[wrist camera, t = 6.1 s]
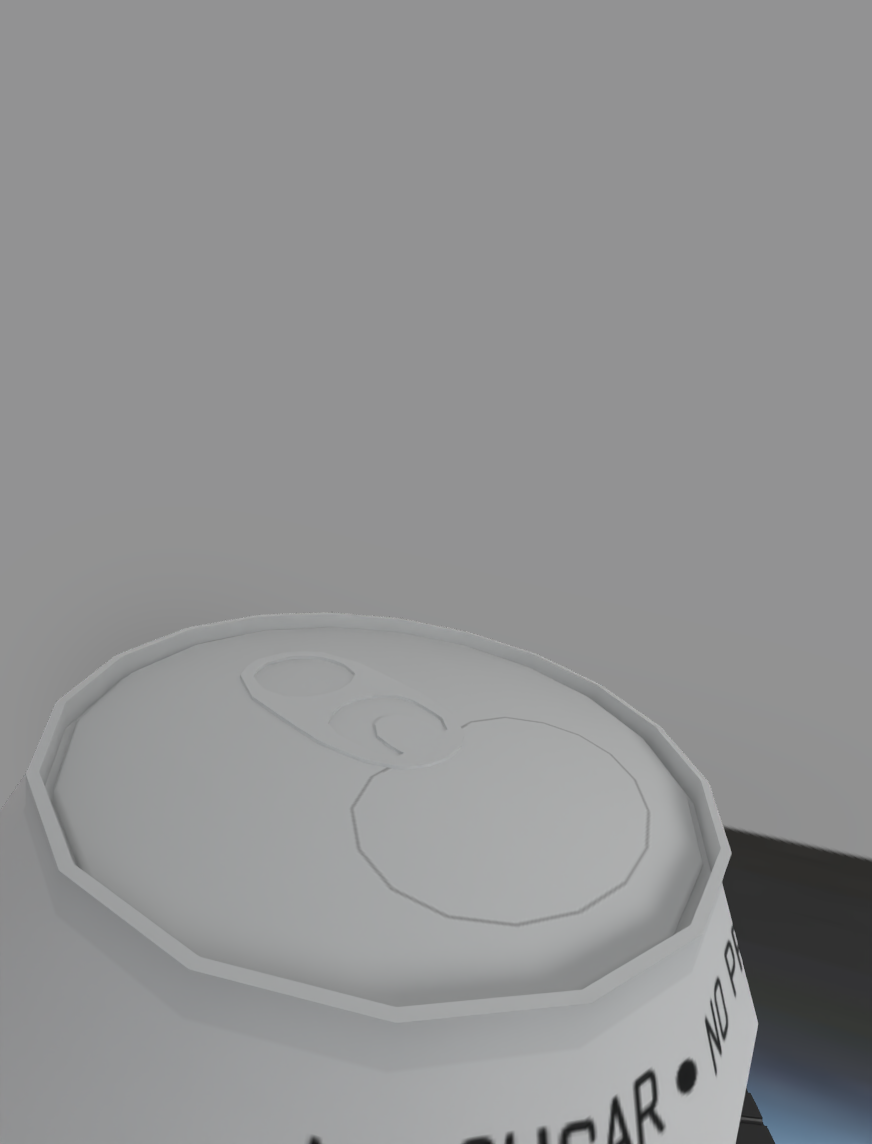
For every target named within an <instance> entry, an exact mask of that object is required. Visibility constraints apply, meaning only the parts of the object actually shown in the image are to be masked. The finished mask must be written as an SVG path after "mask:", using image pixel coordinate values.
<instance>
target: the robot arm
mask: <svg viewBox="0 0 872 1144" xmlns="http://www.w3.org/2000/svg"><path fill="white" fill-rule="evenodd" d="M736 1144H775V1142H774V1140H773V1138H772V1136H771V1134H770V1132H769V1130H768V1128H767V1126H764V1125H763V1122H762V1116H761V1114H760V1112H759V1110H758V1107H757V1105H756V1103H755V1101H754V1099H753V1097H752V1095H751V1093H748V1092H747V1086H746V1091H745V1097H744V1102H743V1107H742V1112H741V1118H740V1123H739V1128H738V1134H737V1139H736Z"/></svg>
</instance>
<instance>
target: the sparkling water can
mask: <svg viewBox="0 0 872 1144" xmlns="http://www.w3.org/2000/svg"><path fill="white" fill-rule="evenodd" d="M730 856H731V850H730V846H729V843H728V840H727V837H726V834H725V831H724V828H723V825H722V822H721V819H720V815H719V812H718V809H717V806H716V803H715V799H714V796H713V793H712V790H711V787H710V784H709V782H708V781H707V780H706V778H705V777H704V776H703V775H702V774H701V773H700V771H699V770H698V769H697V768H696V767H695V766H694V764H693V763H692V762H691V761H690V760H689V759H688V758H687V756H686V755H685V754H684V753H683V752H682V751H681V750H680V748H679V747H678V746H677V745H676V744H675V743H674V741H673V740H672V739H671V738H670V737H669V736H668V734H667V733H666V732H665V731H664V730H663V729H662V727H660V726H659V725H658V724H656V723H655V722H653V721H652V720H650V719H649V718H648V717H646V716H645V715H643V714H642V713H641V712H639V711H638V710H636V709H635V708H634V707H632V706H631V705H629V704H628V703H626V702H625V701H624V700H622V699H621V698H619V697H618V696H617V695H615V694H614V693H612V692H611V691H609V690H608V689H607V688H605V687H604V686H602V685H601V684H599V683H597V682H594V681H592V680H590V679H588V678H586V677H584V676H582V675H580V674H578V673H576V672H573V671H571V670H569V669H567V668H565V667H563V666H561V665H559V664H557V663H554V662H553V661H551V660H548V659H546V658H544V657H542V656H540V655H538V654H535V653H532V652H529V651H526V650H523V649H520V648H517V647H514V646H511V645H508V644H505V643H502V642H499V641H495V640H492V639H489V638H486V637H483V636H480V635H477V634H474V633H471V632H466V631H461V630H457V629H452V628H447V627H441V626H436V625H431V624H427V623H422V622H417V621H412V620H407V619H402V618H390V617H380V616H368V615H357V614H345V613H333V612H328V613H295V614H265V615H255V616H249V617H244V618H238V619H232V620H227V621H221V622H216V623H210V624H204V625H199V626H193V627H187V628H185V629H182V630H179V631H177V632H174V633H171V634H169V635H166V636H164V637H161V638H158V639H156V640H153V641H151V642H148V643H145V644H143V645H140V646H137V647H135V648H132V649H130V650H127V651H125V652H122V653H119V654H117V655H115V656H114V657H113V658H111V659H110V660H109V661H107V662H106V663H105V664H104V665H103V666H101V667H100V668H98V669H97V670H96V671H95V672H93V673H92V674H91V675H90V676H88V677H87V678H86V679H84V680H83V681H82V682H80V683H79V684H78V685H77V686H75V687H74V688H73V689H71V690H70V691H69V692H68V693H66V694H65V695H64V696H62V697H61V698H60V699H59V700H57V701H56V703H55V705H54V708H53V710H52V712H51V715H50V717H49V719H48V722H47V724H46V727H45V729H44V731H43V734H42V736H41V738H40V741H39V743H38V746H37V748H36V750H35V753H34V755H33V758H32V760H31V762H30V765H29V767H28V769H27V772H26V774H25V775H24V776H23V778H22V779H21V781H20V782H19V784H18V785H17V787H16V788H15V790H14V791H13V793H12V794H11V796H10V797H9V798H8V800H7V801H6V803H5V804H4V806H3V807H2V809H1V810H0V1144H736V1139H737V1134H738V1128H739V1123H740V1118H741V1112H742V1107H743V1102H744V1097H745V1091H746V1086H747V1081H748V1075H749V1070H750V1065H751V1059H752V1054H753V1049H754V1043H755V1038H756V1033H757V1027H758V1021H757V1017H756V1013H755V1009H754V1005H753V1002H752V998H751V994H750V990H749V986H748V982H747V978H746V974H745V970H744V966H743V963H742V959H741V955H740V951H739V947H738V943H737V939H736V935H735V931H734V928H733V924H732V920H731V916H730V912H729V908H728V904H727V900H726V896H725V892H724V889H723V885H722V879H723V877H724V874H725V871H726V868H727V865H728V862H729V859H730Z"/></svg>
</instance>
